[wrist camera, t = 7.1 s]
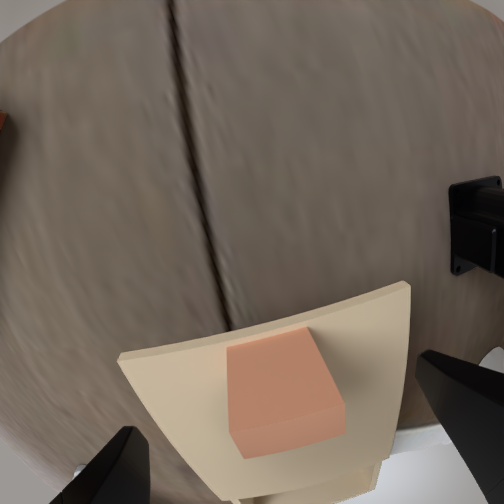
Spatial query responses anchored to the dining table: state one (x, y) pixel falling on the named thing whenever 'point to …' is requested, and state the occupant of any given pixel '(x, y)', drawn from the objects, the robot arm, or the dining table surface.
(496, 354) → the white pointed cylinder
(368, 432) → the lid panel
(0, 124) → the carton
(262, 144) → the dining table surface
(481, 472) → the robot arm
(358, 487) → the kraft box
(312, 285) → the dining table surface
